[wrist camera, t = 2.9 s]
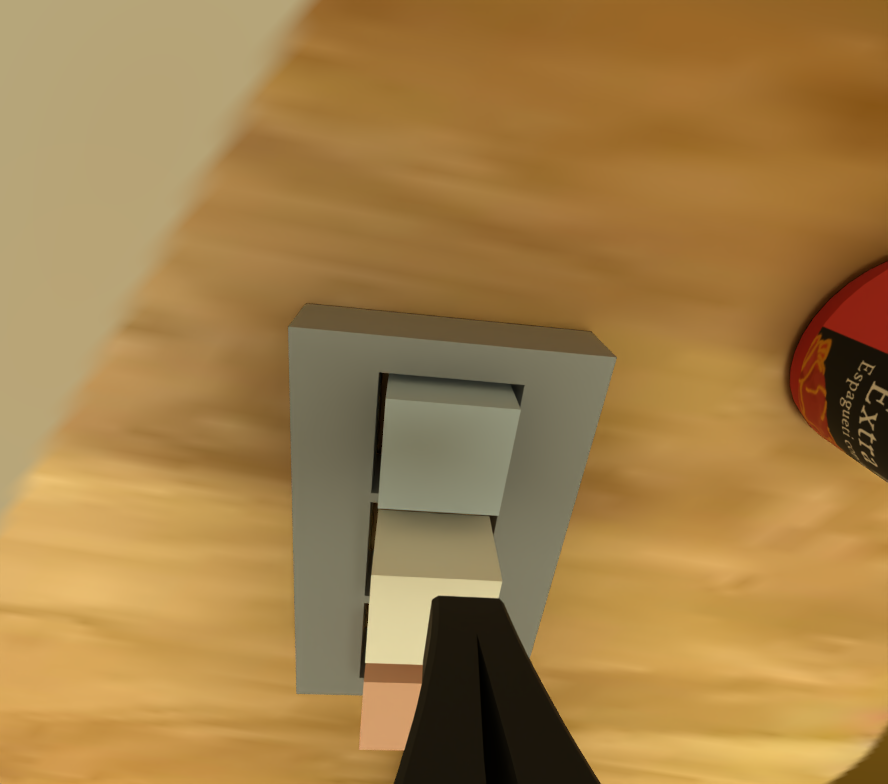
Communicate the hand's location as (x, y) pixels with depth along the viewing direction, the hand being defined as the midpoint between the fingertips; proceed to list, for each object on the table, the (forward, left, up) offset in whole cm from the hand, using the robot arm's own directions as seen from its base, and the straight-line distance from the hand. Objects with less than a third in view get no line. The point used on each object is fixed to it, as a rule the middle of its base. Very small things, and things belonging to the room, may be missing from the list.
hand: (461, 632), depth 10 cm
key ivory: (-5, 0, -7) cm, 9 cm away
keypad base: (-5, 0, -10) cm, 11 cm away
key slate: (0, 0, -9) cm, 9 cm away
